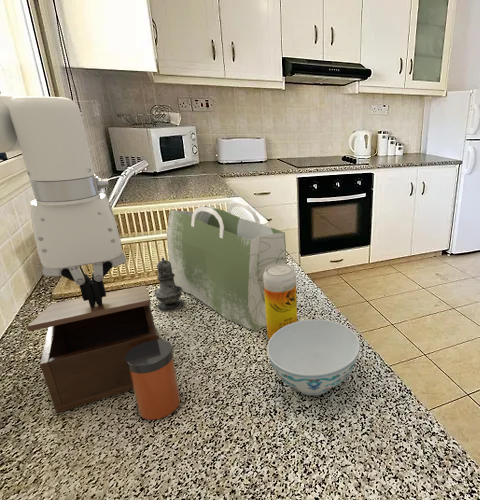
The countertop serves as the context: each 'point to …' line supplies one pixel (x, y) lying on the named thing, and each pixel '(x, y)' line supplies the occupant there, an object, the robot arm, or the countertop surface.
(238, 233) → the grocery bag
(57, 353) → the chest
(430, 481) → the countertop surface
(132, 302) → the chest lid
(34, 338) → the countertop surface
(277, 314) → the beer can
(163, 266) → the grey chess piece
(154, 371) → the jar
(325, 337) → the chinaware
